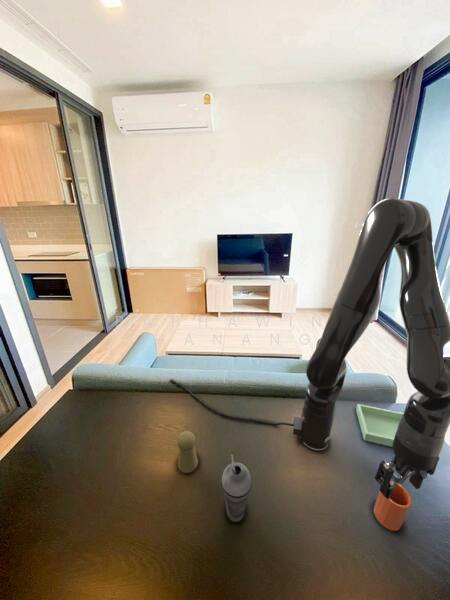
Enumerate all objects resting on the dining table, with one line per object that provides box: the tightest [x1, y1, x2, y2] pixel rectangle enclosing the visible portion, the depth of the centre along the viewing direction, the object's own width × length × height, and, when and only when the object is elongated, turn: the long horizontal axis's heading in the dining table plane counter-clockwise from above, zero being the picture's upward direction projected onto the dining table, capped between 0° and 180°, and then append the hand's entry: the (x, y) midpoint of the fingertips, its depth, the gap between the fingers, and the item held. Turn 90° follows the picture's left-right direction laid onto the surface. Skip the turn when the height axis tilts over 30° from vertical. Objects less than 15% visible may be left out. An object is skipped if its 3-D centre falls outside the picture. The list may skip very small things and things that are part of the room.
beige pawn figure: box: [176, 430, 199, 474], centre depth 72 cm, size 6×6×11 cm
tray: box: [355, 403, 404, 448], centre depth 85 cm, size 18×14×3 cm
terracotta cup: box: [373, 480, 412, 532], centre depth 60 cm, size 6×6×9 cm
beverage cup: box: [220, 453, 252, 523], centre depth 59 cm, size 7×7×20 cm
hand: (399, 489), depth 58 cm, fingers open, 8 cm apart
